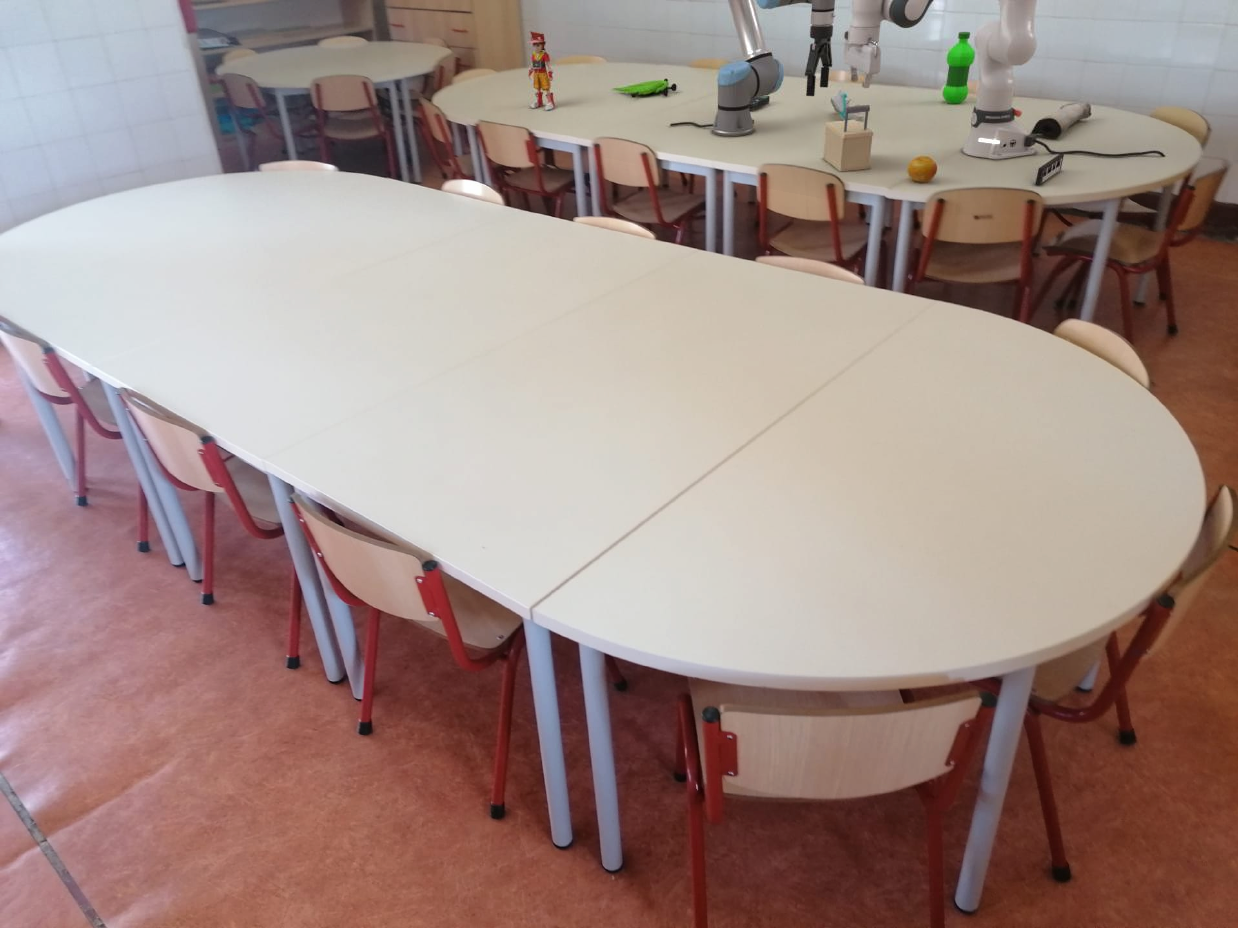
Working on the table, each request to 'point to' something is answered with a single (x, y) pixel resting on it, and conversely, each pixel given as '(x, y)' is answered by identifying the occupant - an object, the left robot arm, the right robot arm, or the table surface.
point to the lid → (851, 124)
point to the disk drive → (758, 102)
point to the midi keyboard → (1049, 169)
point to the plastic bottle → (958, 69)
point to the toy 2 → (648, 88)
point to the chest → (847, 151)
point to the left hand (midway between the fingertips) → (817, 91)
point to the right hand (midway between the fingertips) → (859, 84)
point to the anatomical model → (843, 105)
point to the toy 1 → (541, 71)
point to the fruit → (922, 169)
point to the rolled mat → (1061, 119)
